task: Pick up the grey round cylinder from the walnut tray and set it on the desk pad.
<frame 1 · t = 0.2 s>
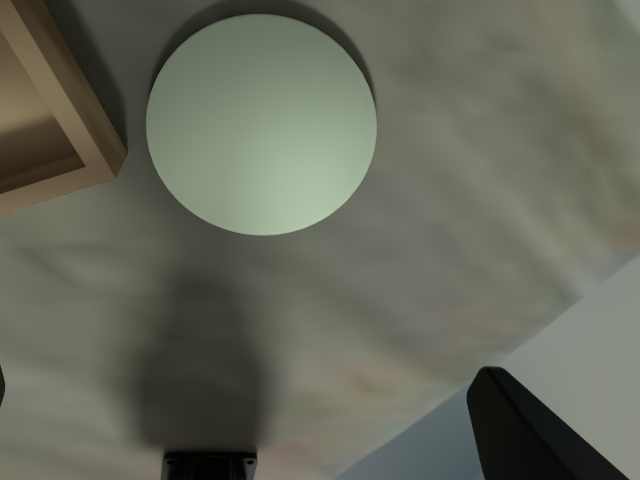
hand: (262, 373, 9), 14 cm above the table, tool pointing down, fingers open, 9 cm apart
desk pad: (264, 134, 22), on the table
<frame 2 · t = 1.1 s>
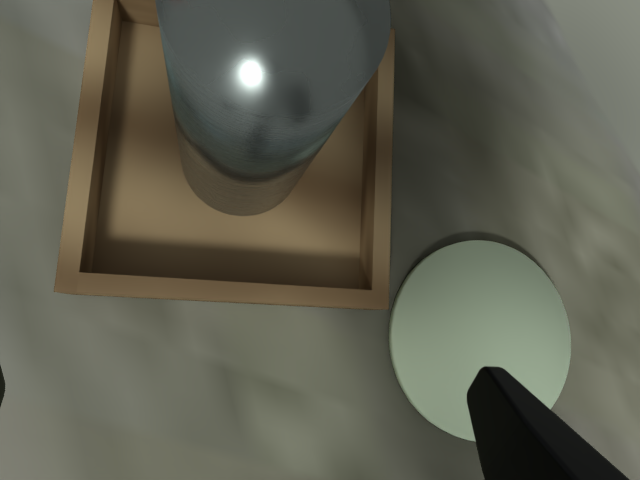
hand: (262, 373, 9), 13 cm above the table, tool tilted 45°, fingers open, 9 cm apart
walnut tray: (241, 161, 23), on the table
grey round cylinder: (242, 158, 23), point 1 cm above the table, touching walnut tray
desk pad: (479, 337, 25), on the table
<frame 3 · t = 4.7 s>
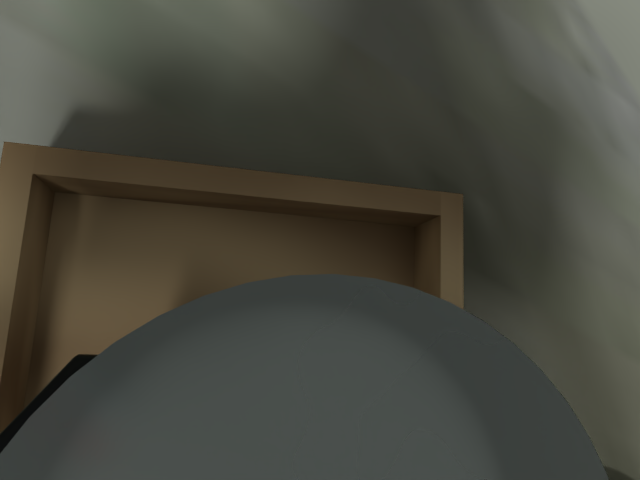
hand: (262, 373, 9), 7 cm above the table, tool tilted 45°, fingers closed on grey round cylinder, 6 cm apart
walnut tray: (235, 393, 16), on the table
grey round cylinder: (235, 395, 15), resting on walnut tray, touching gripper
when the fingers open (9 cm above the table, at t = 9.1 s): grey round cylinder drops 1 cm, resting on desk pad.
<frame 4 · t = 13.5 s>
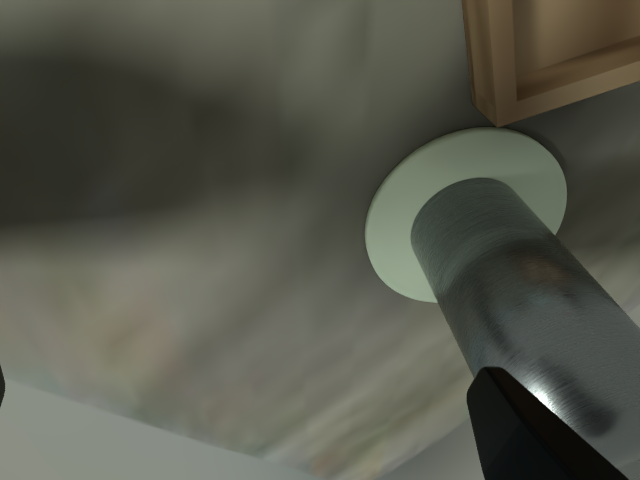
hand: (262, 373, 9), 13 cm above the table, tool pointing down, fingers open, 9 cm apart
grey round cylinder: (466, 227, 24), point 1 cm above the table, touching desk pad
desk pad: (462, 221, 24), on the table
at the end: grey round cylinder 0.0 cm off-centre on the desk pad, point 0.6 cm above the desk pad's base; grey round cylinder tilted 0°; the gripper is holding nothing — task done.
